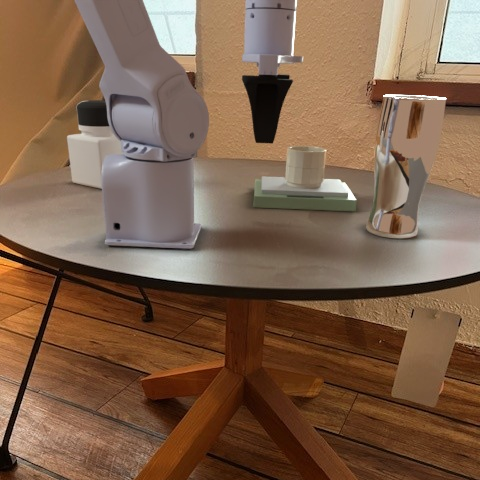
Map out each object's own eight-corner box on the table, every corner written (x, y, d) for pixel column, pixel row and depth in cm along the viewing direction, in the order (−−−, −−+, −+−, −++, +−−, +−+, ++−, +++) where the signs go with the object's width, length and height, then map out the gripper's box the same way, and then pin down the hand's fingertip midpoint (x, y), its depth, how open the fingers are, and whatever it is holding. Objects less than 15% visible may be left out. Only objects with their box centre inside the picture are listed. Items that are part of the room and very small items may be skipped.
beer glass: (351, 225, 63) (369, 94, 56) (398, 221, 65) (421, 95, 58) (382, 242, 57) (407, 99, 50) (433, 237, 59) (463, 99, 53)
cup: (285, 188, 71) (288, 151, 68) (284, 179, 75) (286, 145, 73) (324, 189, 70) (328, 152, 68) (320, 181, 75) (324, 146, 73)
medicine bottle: (136, 182, 81) (131, 101, 75) (103, 190, 76) (95, 103, 70) (105, 176, 84) (98, 98, 79) (71, 183, 79) (61, 100, 74)
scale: (253, 207, 69) (254, 191, 68) (254, 189, 79) (255, 175, 78) (355, 211, 69) (357, 195, 68) (344, 193, 79) (345, 178, 78)
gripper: (311, 5, 50) (300, 148, 56) (301, 17, 63) (293, 132, 69) (240, 3, 50) (237, 146, 56) (245, 15, 63) (242, 130, 69)
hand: (264, 138), depth 63 cm, fingers open, 7 cm apart
